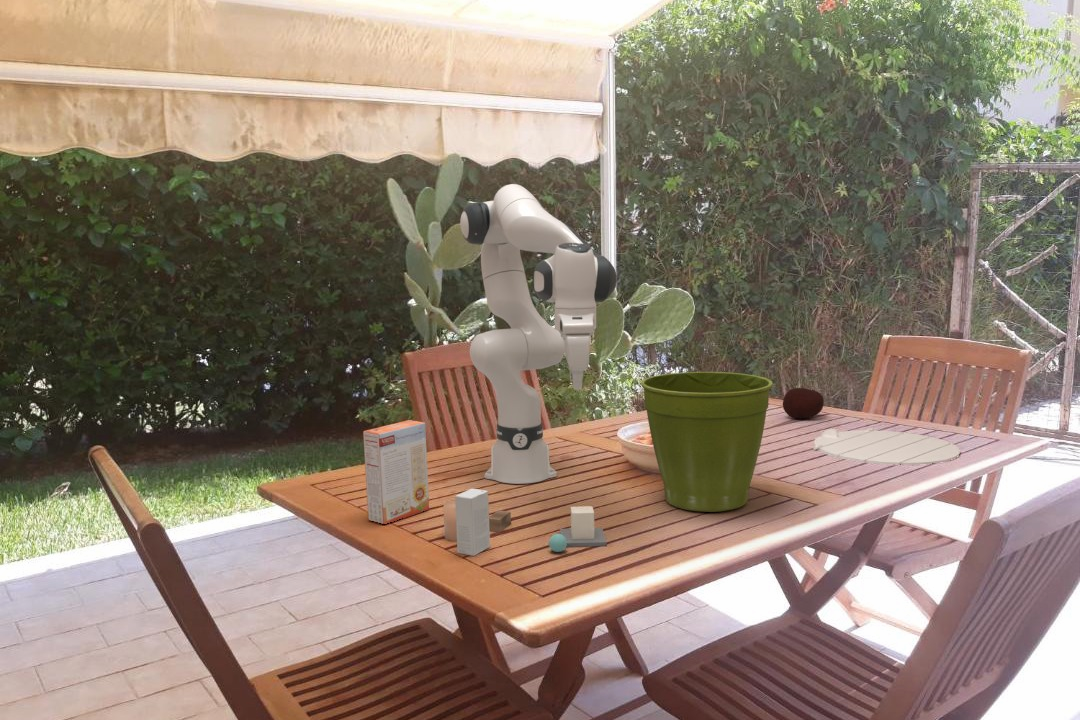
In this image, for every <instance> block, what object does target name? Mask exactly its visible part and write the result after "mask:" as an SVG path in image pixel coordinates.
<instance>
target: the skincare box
mask: <svg viewBox="0 0 1080 720" xmlns="http://www.w3.org/2000/svg"><path fill="white" fill-rule="evenodd" d="M454 500H455V505H456V529H457V542H456V549H457V554H461V555H467V556H470V557H475V556H476V555H478V554H480V553H481V552H483V551H485V550H487V549H489V548H490V547H491V534H490V533H491V531H490V529H489V517H490V511H489V510H490V506H489V490H484V489H477V488H469V489H467V490H465V491H463V492H461V493H459V494H457V495H455V496H454Z"/></svg>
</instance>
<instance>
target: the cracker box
mask: <svg viewBox="0 0 1080 720" xmlns="http://www.w3.org/2000/svg"><path fill="white" fill-rule="evenodd" d="M426 432H427V430H426V423H425V422H423V421H417V420H412V419H408V420H407V419H406V420H404V421H399V422H397V423H391V424H387V425H383V426H379V427H376V428H375V427H374V428H371V429H367V430H364V431H363V432H362V433H363V434H362V437H363V451H364V453H363V455H364V467H365V469H364V472H365V486H366V501H367V502H366V503H367V504H366V505H367V517H368V519H369V520H372V521H375V522H378V523H377V524H379V523H381V524H380V525H382V524H387V523H389V524H391V523H390V522H392V523H395V522H398V521H400V520H399V519H401V520H403V519H406V518H408V517H409V518H410V517H412V516H414V515H418V514H420V513H423V511H424V512H427V511H428V510H430V499H429V496H430V495H429V477H428V476H429V474H428V459H427V458H428V456H427V453H428V451H427V435H426ZM402 518H403V519H402ZM368 519H367V520H368ZM369 520H368V521H369ZM397 520H398V521H397ZM394 521H395V522H394ZM375 522H374V523H375ZM387 525H388V524H387Z"/></svg>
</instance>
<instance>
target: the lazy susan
mask: <svg viewBox="0 0 1080 720" xmlns="http://www.w3.org/2000/svg"><path fill="white" fill-rule="evenodd" d="M813 450H814V451H815V450H818V451H819V452H821V453H823V454H825V455H829V456H831V457H834V458H838V459H841V458H842V460H846V461H851V460H853V461H852V462H857V461H858V462H859V463H863V462H865V464H871V463H876V464H875V465H882V464H895V465H894V466H901V465H914V466H921V465H920V464H931V465H933V464H932V463H939V462H944V461H948V460H951V459H954V458H956V457H957V456H959V454H960V455H961V450H960V448H959V447H958V446H957V445H955V444H954V443H951V442H950V441H946V440H944V439H940V438H936V437H934V436H933V437H932V436H931V437H930V436H929V435H928V436H927V435H923V434H916V433H909V432H902V431H890V430H875V429H874V427H873V428H872V427H870V428H868V429H864V430H861V429H860V430H844V431H839V430H838V429H836V428H834V429H833V428H832V429H831V428H830V429H829V428H828V429H825V430H824V431H822V432H821V434H820V435H819V436H817V437H816V438H815V439H814V442H813ZM959 457H960V456H959ZM956 459H957V458H956ZM954 460H955V459H954ZM858 462H857V463H858ZM900 464H901V465H900ZM939 464H940V463H939Z"/></svg>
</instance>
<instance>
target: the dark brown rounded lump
mask: <svg viewBox="0 0 1080 720" xmlns="http://www.w3.org/2000/svg"><path fill="white" fill-rule="evenodd" d="M824 402H825V400H824V397H823V395H822V394H821V392H818V391H817V390H813V389H809V388H805V387H804V388H803V387H794V388H790V389H789V390H788V391H787V392H786V393H785V395H784V397H783V399H782V408H783V410H784V412H785V414H787V416H789V417H790V418H791V417H792V418H794V419H796V420H797V419H799V420H800V419H801V420H802V419H803V420H804V419H808V418H812V417H815V416H817V415H818V414H820V413H821V412H822V410H823V408H824V404H825V403H824Z"/></svg>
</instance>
